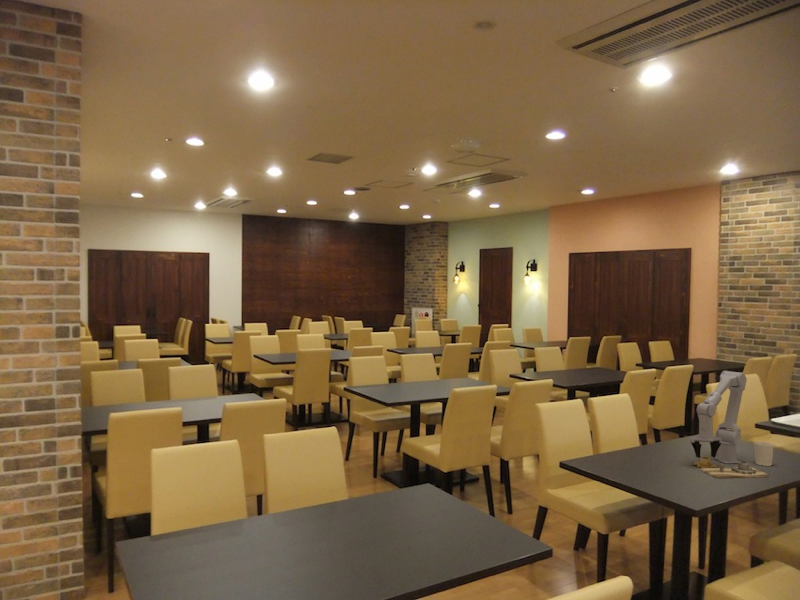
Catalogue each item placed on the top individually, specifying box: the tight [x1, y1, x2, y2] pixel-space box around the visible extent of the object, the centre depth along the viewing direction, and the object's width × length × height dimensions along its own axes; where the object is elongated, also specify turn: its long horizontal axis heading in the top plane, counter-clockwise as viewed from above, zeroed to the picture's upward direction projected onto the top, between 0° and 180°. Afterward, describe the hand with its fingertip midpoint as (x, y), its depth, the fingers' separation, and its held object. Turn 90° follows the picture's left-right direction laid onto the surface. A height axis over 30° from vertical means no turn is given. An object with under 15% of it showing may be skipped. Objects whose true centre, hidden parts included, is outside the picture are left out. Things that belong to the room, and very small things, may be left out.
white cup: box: [753, 441, 774, 467], centre depth 280 cm, size 8×8×10 cm
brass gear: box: [693, 456, 718, 468], centre depth 276 cm, size 10×10×4 cm
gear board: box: [699, 459, 770, 479], centre depth 265 cm, size 12×25×6 cm, turn 95°
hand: (705, 457), depth 276 cm, fingers open, 7 cm apart
